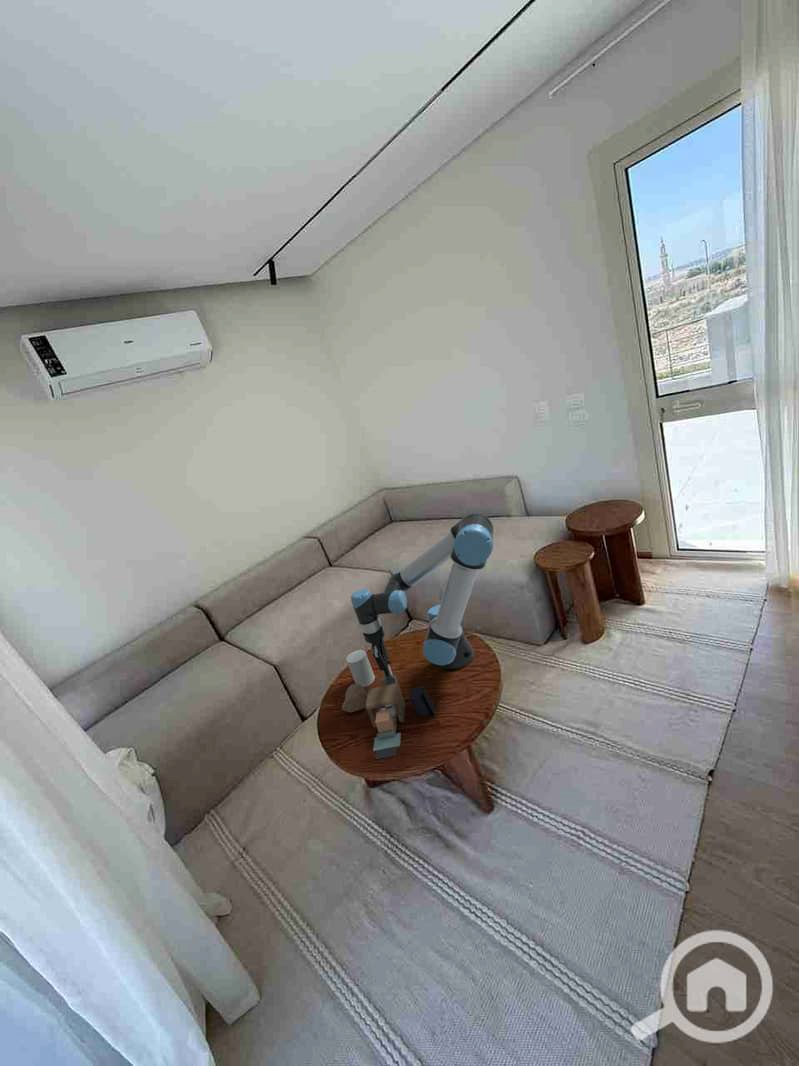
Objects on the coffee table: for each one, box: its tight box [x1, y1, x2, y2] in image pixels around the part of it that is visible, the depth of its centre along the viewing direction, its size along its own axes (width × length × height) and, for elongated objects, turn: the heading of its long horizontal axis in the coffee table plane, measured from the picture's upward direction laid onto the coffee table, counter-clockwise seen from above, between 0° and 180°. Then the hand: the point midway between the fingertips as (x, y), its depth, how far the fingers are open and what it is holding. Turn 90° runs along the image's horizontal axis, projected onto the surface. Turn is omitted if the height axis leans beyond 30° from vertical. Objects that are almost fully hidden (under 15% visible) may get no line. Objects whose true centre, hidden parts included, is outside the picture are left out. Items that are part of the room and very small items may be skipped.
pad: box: [372, 732, 402, 752], centre depth 144 cm, size 9×6×1 cm, turn 87°
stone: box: [341, 683, 368, 713], centre depth 165 cm, size 12×9×10 cm
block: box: [375, 709, 394, 733], centre depth 147 cm, size 5×5×5 cm
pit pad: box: [374, 747, 398, 760], centre depth 139 cm, size 7×3×1 cm, turn 87°
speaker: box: [408, 683, 437, 717], centre depth 150 cm, size 8×6×10 cm
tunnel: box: [365, 683, 406, 728], centre depth 154 cm, size 11×9×9 cm
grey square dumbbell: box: [376, 673, 399, 739], centre depth 157 cm, size 6×26×5 cm, turn 177°
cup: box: [345, 649, 376, 688], centre depth 177 cm, size 8×8×12 cm
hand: (390, 680), depth 170 cm, fingers closed
